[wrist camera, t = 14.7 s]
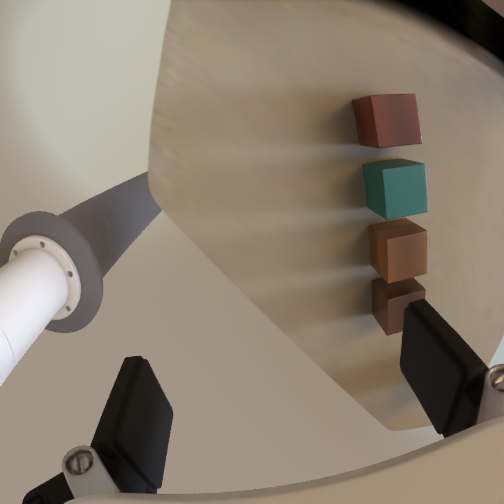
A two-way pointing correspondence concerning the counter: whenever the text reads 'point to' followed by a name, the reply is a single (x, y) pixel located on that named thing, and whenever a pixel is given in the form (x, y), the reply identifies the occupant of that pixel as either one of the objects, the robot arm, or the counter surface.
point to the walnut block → (394, 302)
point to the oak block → (398, 249)
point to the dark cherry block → (387, 120)
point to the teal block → (396, 188)
